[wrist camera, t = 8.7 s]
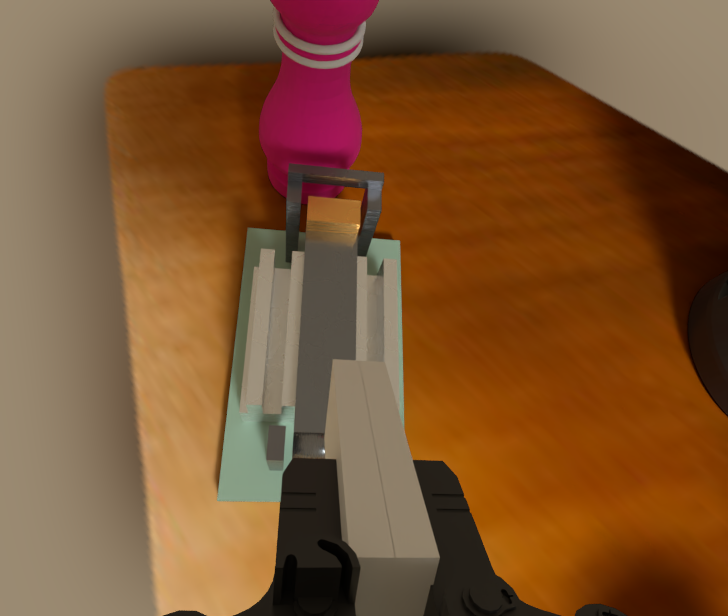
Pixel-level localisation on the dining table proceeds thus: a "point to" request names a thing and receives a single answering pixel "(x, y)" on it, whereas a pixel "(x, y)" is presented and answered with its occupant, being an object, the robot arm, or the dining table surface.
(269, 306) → the grey blocky device
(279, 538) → the robot arm
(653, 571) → the dining table surface
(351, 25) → the pepper mill
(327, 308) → the grey bar
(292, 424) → the mainboard
